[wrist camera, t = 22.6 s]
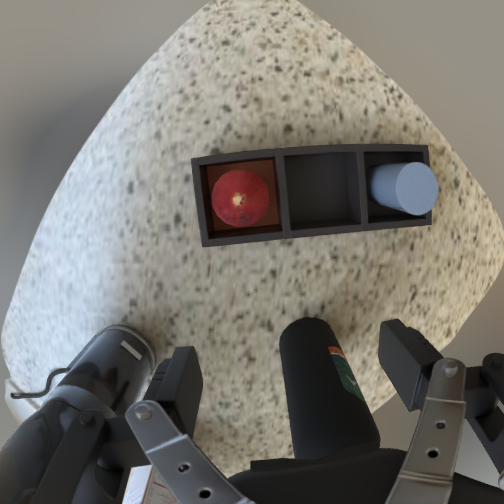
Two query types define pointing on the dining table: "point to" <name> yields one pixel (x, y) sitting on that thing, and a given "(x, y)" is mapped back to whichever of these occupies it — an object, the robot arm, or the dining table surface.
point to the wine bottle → (322, 392)
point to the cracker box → (146, 488)
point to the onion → (240, 197)
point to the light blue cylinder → (402, 186)
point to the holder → (306, 191)
